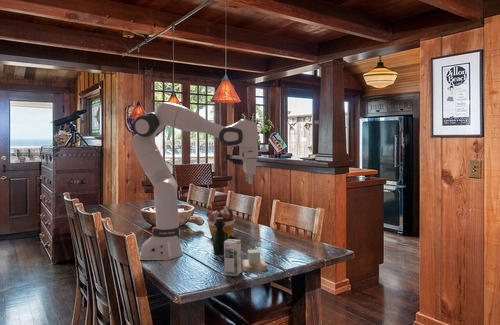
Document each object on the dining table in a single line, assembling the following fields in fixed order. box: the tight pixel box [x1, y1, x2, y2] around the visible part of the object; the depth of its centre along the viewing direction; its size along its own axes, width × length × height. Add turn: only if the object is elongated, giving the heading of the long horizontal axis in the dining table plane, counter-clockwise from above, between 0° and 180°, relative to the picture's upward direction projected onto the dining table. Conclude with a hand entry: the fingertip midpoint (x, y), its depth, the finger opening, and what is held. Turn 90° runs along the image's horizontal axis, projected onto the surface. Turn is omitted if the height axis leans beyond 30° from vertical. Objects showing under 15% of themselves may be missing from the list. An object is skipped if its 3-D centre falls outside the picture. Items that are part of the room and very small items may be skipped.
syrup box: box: [223, 238, 242, 277], centre depth 168 cm, size 6×6×14 cm
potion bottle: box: [211, 217, 229, 256], centre depth 198 cm, size 8×8×18 cm
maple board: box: [241, 258, 268, 272], centre depth 176 cm, size 10×10×2 cm
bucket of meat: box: [206, 201, 238, 239], centre depth 232 cm, size 20×16×20 cm
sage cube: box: [247, 248, 261, 264], centre depth 176 cm, size 5×5×5 cm
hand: (249, 182), depth 186 cm, fingers open, 8 cm apart
